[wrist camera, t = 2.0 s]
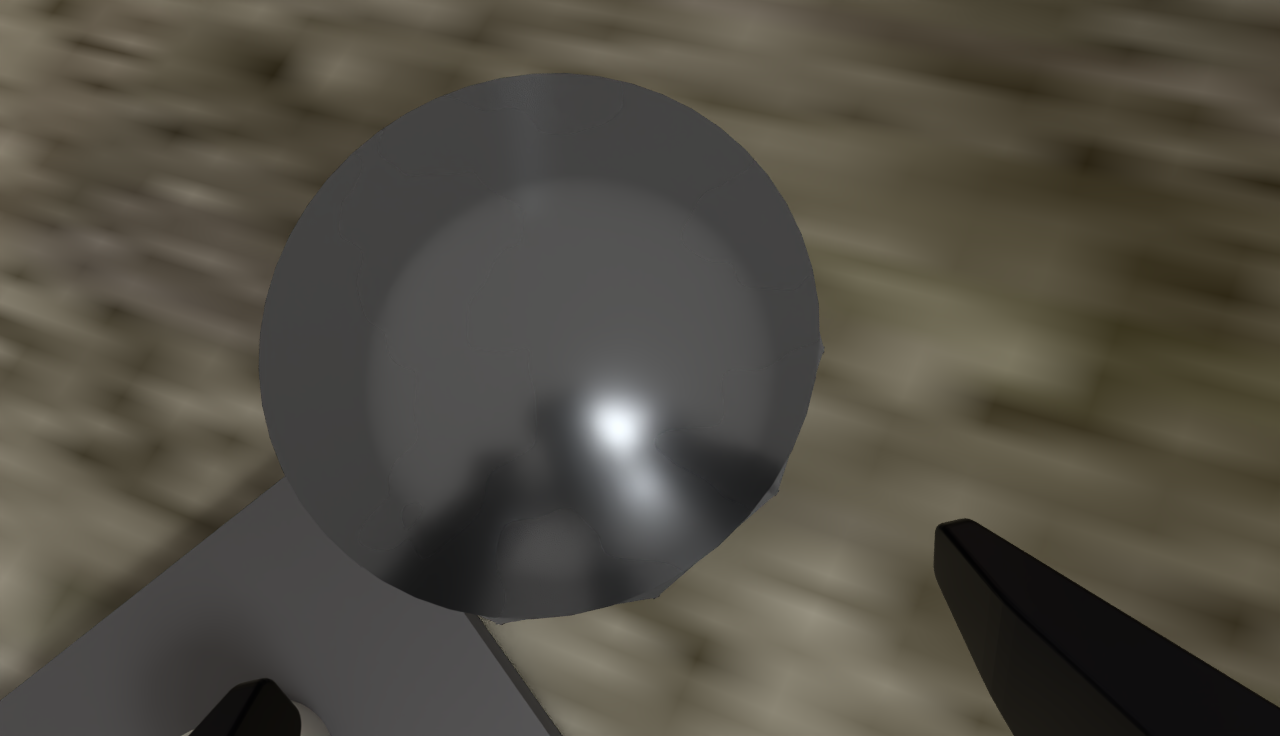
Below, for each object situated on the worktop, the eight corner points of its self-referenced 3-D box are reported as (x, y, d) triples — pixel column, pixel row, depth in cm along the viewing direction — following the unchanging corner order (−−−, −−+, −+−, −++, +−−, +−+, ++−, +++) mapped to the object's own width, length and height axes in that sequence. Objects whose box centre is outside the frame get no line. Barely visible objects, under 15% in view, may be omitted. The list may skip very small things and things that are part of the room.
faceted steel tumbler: (792, 453, 20) (948, 349, 8) (604, 615, 19) (470, 763, 7) (638, 279, 21) (579, -18, 10) (459, 423, 21) (159, 291, 9)
